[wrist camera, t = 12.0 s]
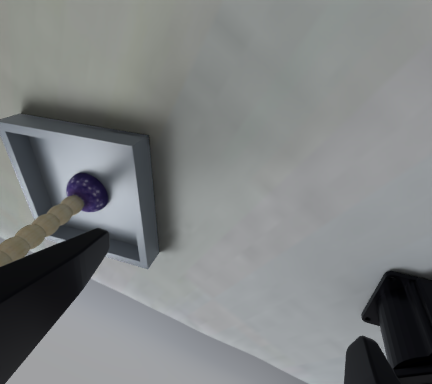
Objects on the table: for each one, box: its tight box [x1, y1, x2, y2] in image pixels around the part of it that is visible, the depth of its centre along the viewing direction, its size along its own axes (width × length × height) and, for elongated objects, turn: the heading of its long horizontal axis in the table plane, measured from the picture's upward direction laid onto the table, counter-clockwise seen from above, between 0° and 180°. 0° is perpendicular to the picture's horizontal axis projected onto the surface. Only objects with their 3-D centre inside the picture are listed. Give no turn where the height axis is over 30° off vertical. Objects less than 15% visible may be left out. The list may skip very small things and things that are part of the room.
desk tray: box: [0, 114, 159, 269], centre depth 27 cm, size 14×14×2 cm
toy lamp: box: [0, 173, 108, 267], centre depth 20 cm, size 5×5×17 cm
